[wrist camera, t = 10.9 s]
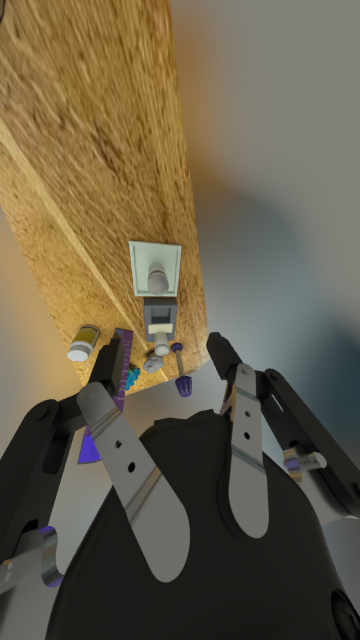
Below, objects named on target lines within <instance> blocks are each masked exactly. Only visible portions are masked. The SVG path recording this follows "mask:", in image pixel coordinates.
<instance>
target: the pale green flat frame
mask: <svg viewBox="0 0 360 640" xmlns="http://www.w3.org/2000/svg"><path fill="white" fill-rule="evenodd" d="M129 248H130V257H131V266H132V275H133V284H134V294H135V296H177V288H178V278H179V268H180V258H181V248H182V246H181V245H175V244H165V243H155V242H145V241H135V240H129ZM155 262H156V263H160V264H161V265H162V266H163V267H164V270H165V273H166V276H167V279H168V282H169V289H168V291H167V292H166V293H165V294H163V295H154V294H152V293H151V292H150V291H149V289H148V269H149V266H150V265H151V264H152V263H155Z"/></svg>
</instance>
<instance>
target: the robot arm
mask: <svg viewBox="0 0 360 640" xmlns="http://www.w3.org/2000/svg"><path fill="white" fill-rule="evenodd" d="M3 1H4V0H0V17H1V15H2V10H3ZM206 347H207V350H208V352H209V354H210V357H211V359H212V361H213V363H214V365H215V367H216V370H217V372H218V374H219V376H220V378H221V380H227V384H226V389H225V395H224V400H223V405H222V408H221V410H220V414H216V413H214V411H213V409H209V410H205V411H200V412H198V413H196V414H194V415H193V416H191V417H189V418H188V419H176V418H166V419H161V420H156V421H154V425H153V426H151V427H149V428H148V429H147V430H146V431H145V432H144V433H143V434H142V435H141V436H140V437H139V439H138V437H137V436H136V434H135V433H134V431H133V429H132V428H131V426H130V425H129V423H128V422H127V420H126V419H125V417H124V416H123V414H122V413H121V411H120V410H119V409H118V408H117V406H116V405H115V403H114V402H113V396H118V393H119V387H120V381H121V375H122V369H123V363H124V357H125V350H124V345H123V341H122V338H111V341H110V344H109V345H104V346H103V347H102V348H101V350H100V351H99V354H98V357H97V359H96V362H95V365H94V367H93V370H92V373H91V375H90V378H89V381H88V383H87V385H86V386H84V387H83V388H82V389H81V390H80V392H78V393H77V394H75V395H73V396H71V397H68V398H66V399H63V400H61V401H58V402H57V401H56V400H54V399H49V400H45V401H43V402H40V403H39V404H37V405H36V406H34V407H33V408H32V409H31V410H30V411H29V412H28V413H27V414H26V416H25V417H24V419H23V421H22V423H21V424H20V426H19V428H18V430H17V431H16V433H15V435H14V437H13V439H12V440H11V442H10V444H9V446H8V447H7V449H6V451H5V453H4V454H3V456H2V458H1V460H0V640H360V617H359V615H358V613H357V612H356V610H355V609H354V606H353V605H352V603H351V601H350V599H349V597H348V595H347V594H346V591H345V589H344V587H343V585H342V583H341V580H340V578H339V576H338V573H337V571H336V568H335V566H334V563H333V561H332V558H331V555H330V553H329V549H328V547H327V543H326V541H325V537H324V533H323V530H322V527H321V525H324V524H327V523H330V522H333V521H336V520H338V519H341V518H344V517H347V518H356V519H360V471H359V470H358V468H357V467H356V466H355V465H354V464H353V462H352V461H351V460H350V458H349V457H348V456H347V455H346V454H345V452H344V451H343V450H342V449H341V447H340V446H339V445H338V444H337V443H336V441H335V440H334V439H333V438H332V436H331V435H330V434H329V433H328V431H327V430H326V429H325V428H324V427H323V425H322V424H321V423H320V422H319V420H318V419H317V418H316V417H315V415H314V414H313V413H312V412H311V410H310V409H309V408H308V407H307V406H306V404H305V403H304V402H303V401H302V399H301V398H300V397H299V396H298V394H296V392H295V391H294V390H293V388H292V387H291V386H290V385H289V383H288V382H287V381H286V380H285V378H284V377H283V376H282V375H281V374H280V373H279V372H278V371H276V370H274V369H266V370H265V371H264V372H262V371H257V370H253V368H251V367H250V366H249V365H247V364H244V363H243V362H242V360H241V359H240V357H239V356H238V354H237V353H236V352H235V350H234V349H233V347H232V346H231V344H230V343H229V341H228V340H227V339H226V338H224V337H222V336H221V335H220V333H219V332H211V333H210V334H209V337H208V340H207V344H206ZM272 394H273V395H274V397H275V398H276V400H277V401H278V402H279V404H280V405H281V407H282V409H283V412H282V410H281V409H280V407H279V406H278V404H277V403H276V401H275V400H274V398H273V397H272ZM261 412H262V413H263V415H264V417H265V419H266V421H267V423H268V425H269V426H270V428H271V430H272V432H273V434H274V435H275V437H276V439H277V441H278V443H279V445H280V446H281V448H282V450H283V456H284V461H283V464H284V467H285V469H286V470H287V471H288V472H289V475H288V474H287V473H286V472H285V471H284V470H283V469H282V468H281V467H279V466H278V465H277V464H276V463H275V462H274V461H273V460H272V459H271V458H270V457H269V456H268V455H266V454H265V453H264V452H263V451H262V433H261ZM86 425H88V427H89V429H90V431H91V437H92V440H93V442H94V444H95V446H96V448H97V450H98V453H99V455H100V457H101V459H102V461H103V463H104V466H105V468H106V469H107V472H108V474H109V476H110V479H111V481H112V483H113V485H112V487H111V489H110V491H109V492H108V494H107V496H106V498H105V500H104V502H103V504H102V505H101V507H100V509H99V511H98V513H97V515H96V516H95V518H94V520H93V522H92V524H91V525H90V527H89V529H88V531H87V533H86V534H85V536H84V538H83V540H82V542H81V544H80V545H79V547H78V549H77V551H76V553H75V555H74V556H73V558H72V560H71V562H70V564H69V566H68V568H67V570H66V572H65V575H63V574H61V573H60V572H59V571H58V569H57V566H56V549H57V541H58V537H57V532H56V530H55V528H54V527H52V526H48V523H49V519H50V516H51V512H52V508H53V505H54V502H55V499H56V495H57V492H58V488H59V485H60V481H61V478H62V474H63V471H64V467H65V464H66V461H67V457H68V454H69V450H70V447H71V444H72V440H73V437H74V433H75V431H77V430H79V429H80V428H82V427H84V426H86Z"/></svg>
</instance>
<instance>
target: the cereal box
mask: <svg viewBox="0 0 360 640" xmlns="http://www.w3.org/2000/svg"><path fill="white" fill-rule="evenodd" d="M132 337H133V331H130V330H125V329H120V328H116V329H115V333H114V336H113V338H122V341H123V345H124V350H125V357H124V363H123V369H122V375H121V381H120V387H119V393H118V396H113V402H114V403H115V405H116V406H117V408H118V409H119V410H120V411H121V413H122V411H123V404H124V396H125V389H126V382H127V374H128V367H129V359H130V352H131V344H132ZM101 460H102V459H101V457H100V455H99V453H98V450H97V448H96V446H95V444H94V442H93V440H92V437H91V431H90V429H89V427H88V425H87V426H86V429H85V433H84V436H83V440H82V445H81V450H80V454H79V459H78V463H77V464H88V463H94V462H97V461H101Z"/></svg>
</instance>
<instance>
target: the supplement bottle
mask: <svg viewBox="0 0 360 640" xmlns="http://www.w3.org/2000/svg"><path fill="white" fill-rule="evenodd" d="M99 335H100V331H99V330H98V329H97V328H96V327H94V326H89V325H88V326H83V327H82V328H81V329H80V330H79V332H78V334H77V335H76V337H75V338H74V340H73V342H72V343H71V345H70V350H69V352H68V354H67V356H68V358H69V359H71V360H73V361H84V360H86V359H87V358H88V357H89V355H90V353H91V352H92V351H93V349H94V347H95V345H96V342H97V340H98V337H99Z"/></svg>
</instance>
